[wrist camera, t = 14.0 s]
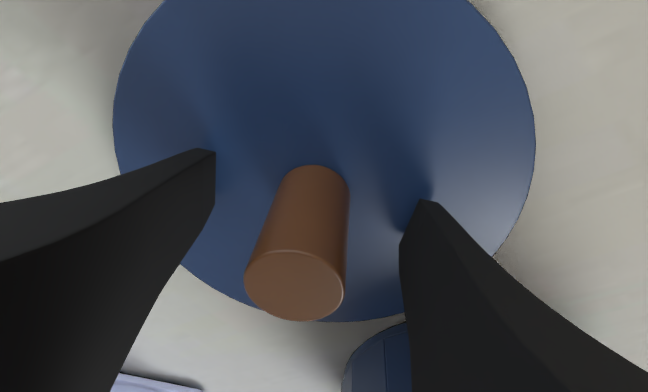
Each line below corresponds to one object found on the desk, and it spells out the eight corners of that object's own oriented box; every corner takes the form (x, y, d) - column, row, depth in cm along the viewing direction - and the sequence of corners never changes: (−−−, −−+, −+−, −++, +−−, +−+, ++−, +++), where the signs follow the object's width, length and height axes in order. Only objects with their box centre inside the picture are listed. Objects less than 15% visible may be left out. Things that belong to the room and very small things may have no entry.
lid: (150, 267, 15) (69, 377, 11) (100, -115, 8) (-203, -228, 4) (427, 327, 16) (451, 454, 11) (624, 17, 8) (898, 53, 4)
